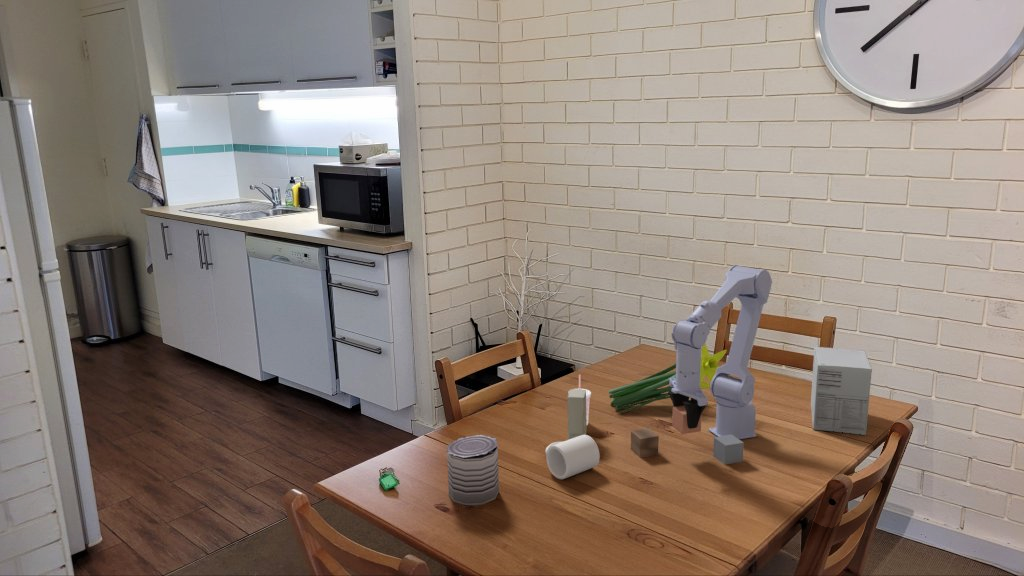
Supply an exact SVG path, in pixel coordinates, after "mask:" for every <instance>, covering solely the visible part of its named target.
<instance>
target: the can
mask: <svg viewBox="0 0 1024 576" xmlns="http://www.w3.org/2000/svg"><path fill="white" fill-rule="evenodd" d="M498 450H499V444H498V441H497V438H496V437H494V436H493V437H492V436H487V435H483V434H476V435H472V436H471V435H470V436H465V437H464V436H463V437H459V438H458V439H456V440H454V441H452V442H451V443H449V444H447V445H446V460H447V461H446V462H447V482H448V483H447V484H448V485H447V487H448V496H449V497H450V498H451V501H453V502H455V503H458V504H461V505H464V506H483V505H485V504H487V503H489V502H492V501H494V500H496V498H497V496H498V494H499V492H500V484H499V483H500V481H499V479H500V478H499V452H498Z"/></svg>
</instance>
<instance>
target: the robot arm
mask: <svg viewBox="0 0 1024 576" xmlns="http://www.w3.org/2000/svg"><path fill="white" fill-rule="evenodd" d="M772 285H773V279H772V278H771V274H770V272H769V271H768V270H767V269H760V268H759V269H758V268H753V267H748V266H747V267H746V266H741V265H740V266H739V265H736V264H734V265H732V266H730V267H729V268H728V270H727V271H726V272H725V274H724V282H723V284H722V285H721V286H720V287H719V289H718V290H717V291H716V292H715V294H714V295H713V296H712V297H711V299H710V300H704V301H702V302H701V303H700V304H699V305H698V306H697V307H696V308H695V310H694V311H692V313H691V314H690V315H689V316H688V317H687V318H686V319H684V320H680V321H678V322H676V323H675V325H674V326H673V330H672V333H671V338H672V341H673V343H674V350H675V351H676V357H675V358H676V361H675V362H676V363H675V364H676V368H675V371H676V378H670V379H669V385H668V386H671V387H674V388H672V390H671V391H668V392H667V393H668V394H669V396H670V398H669V399H670V400H671V402H672V405H673V406H672V407H678V406H685V409H686V414H687V425H688V428H689V429H691V428H697V426H698V422H699V419H700V416H701V417H702V415H701V414H702V413H703V412H704V410H705V409H706V407H707V406H708V397H707V396H706V394H705V393H704V392H703V390H702V389H701V388H700V373H701V360H702V358H701V354H702V346H703V345H704V344H706V342H707V340H708V336H709V335H710V333H711V329H712V328H713V327H714V326H715V325H717V323H718V321H720V319H721V318H722V310H723V309H724V308H726V306H728V305H729V304H731V302H732V301H733V300H734V299H736V298H737V299H738V300H739V302H740V304H741V306H740V310H739V315H738V317H737V322H736V325H735V330H734V334H733V338H732V341H731V345H730V349H729V354H728V356H727V359H726V363H724V364H722V365H721V366H720V365H719V366H720V367H718V368H717V370H716V373H715V375H714V377H713V379H712V381H711V382H710V388H709V389H710V390H709V391H710V393H711V395H712V396H713V397H714V398H713V400H714V401H716V410H715V411H716V413H715V414H716V415H715V427H709V428H708V431H709V432H711V433H712V434H713V435H715V437H719V436H725V435H731V434H732V435H733V436H735V437H736V438H738V439H739V440H744V439H749V438H750V439H751V438H756V437H757V434H756V433H755V431H756V414H757V413H756V408H755V405H754V403H753V402H752V400H753V398H754V394H755V380H756V378H755V377H754V375H753V374H752V373H751V371H750V370H749V368H748V366H749V363H750V359H751V354H752V352H753V347H754V344H755V343H754V342H755V339H756V335H757V332H758V327H759V324H760V320H761V316H762V312H763V307H764V305H765V304H768V300H769V297H770V293H771V289H772ZM728 375H730V376H728ZM736 377H737V378H736Z"/></svg>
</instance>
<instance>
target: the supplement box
mask: <svg viewBox="0 0 1024 576" xmlns="http://www.w3.org/2000/svg"><path fill="white" fill-rule="evenodd" d="M872 373H873V367H872V366H871V362H869V359H868V355H867V353H866V351H865V350H858V349H850V348H849V349H848V348H847V349H846V348H838V347H837V348H836V347H835V348H833V347H822V346H814V348H813V363H812V377H811V378H812V379H811V394H810V395H811V396H810V409H811V420H812V430H814V431H815V430H816V431H817V430H818V431H826V432H827V431H828V432H833V431H834V433H835V432H836V433H842V432H843V433H844V434H850V433H851V434H852V435H859V434H861V436H865V435H867V428H868V416H869V415H868V414H869V406H870V405H869V404H870V396H871V395H870V393H871V381H872ZM843 433H842V434H843Z"/></svg>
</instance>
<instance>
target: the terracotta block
mask: <svg viewBox="0 0 1024 576" xmlns="http://www.w3.org/2000/svg"><path fill="white" fill-rule="evenodd" d="M671 415H672V417H671V418H672V421H671V422H672V423H671V425H672V426H671V427H672V428H673V429H675V430H676V431H678V432H679V433H680V434H682V435H685V434H693V433H699V432H702V416H703V415H702V414H701V416H700V419H699V422H698V426H697V428H691V429H689V428H688V425H687V414H686V409H685V406H678V407H674V406H672V414H671Z"/></svg>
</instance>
